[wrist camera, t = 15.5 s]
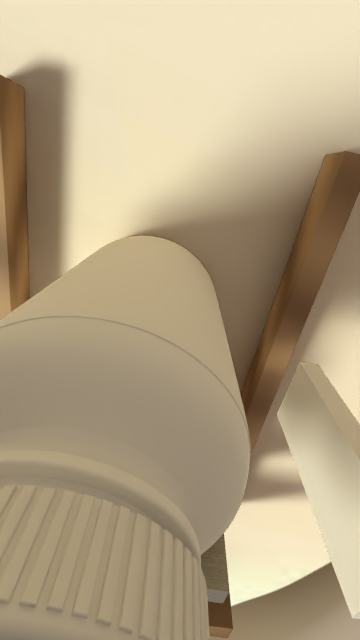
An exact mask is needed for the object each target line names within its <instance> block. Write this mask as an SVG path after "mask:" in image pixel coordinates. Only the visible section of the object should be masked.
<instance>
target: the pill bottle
mask: <svg viewBox="0 0 360 640" xmlns="http://www.w3.org/2000/svg"><path fill="white" fill-rule="evenodd" d="M250 457H251V446H250V437H249V430H248V425H247V420H246V415H245V411H244V407H243V403H242V399H241V395H240V390H239V386H238V382H237V378H236V374H235V370H234V366H233V361H232V357H231V353H230V349H229V345H228V341H227V337H226V333H225V328H224V324H223V320H222V316H221V312H220V308H219V304H218V299H217V295H216V291H215V288H214V285H213V282H212V280H211V278H210V276H209V274H208V273H207V271H206V270H205V268H204V267H203V265H202V264H201V263H200V261H199V260H198V259H197V258H196V257H195V256H194V255H193V254H191V253H190V252H189V251H188V250H186V249H185V248H183V247H182V246H180V245H178V244H176V243H174V242H172V241H169V240H167V239H163V238H159V237H154V236H132V237H127V238H123V239H119V240H116V241H114V242H111V243H109V244H107V245H105V246H104V247H102V248H101V249H99V250H98V251H96V252H95V253H93V254H92V255H91V256H89V257H88V258H86V259H85V260H84V261H82V262H81V263H79V264H78V265H77V266H75V267H74V268H72V269H71V270H70V271H68V272H67V273H65V274H64V275H63V276H61V277H60V278H58V279H57V280H56V281H54V282H53V283H51V284H50V285H49V286H47V287H46V288H44V289H43V290H41V291H40V292H39V293H37V294H36V295H34V296H33V297H32V298H30V299H29V300H27V301H26V302H25V303H23V304H22V305H20V306H19V307H18V308H16V309H15V310H13V311H12V312H11V313H9V314H8V315H6V316H5V317H4V318H2V319H1V320H0V640H210V635H209V616H208V598H207V586H206V580H205V577H204V575H203V571H202V569H201V554H203V553H204V552H205V551H206V550H208V549H209V548H210V547H211V546H212V545H213V544H214V543H215V542H216V541H217V540H218V539H219V538H220V537H221V536H222V535H223V533H224V532H225V531H226V529H227V528H228V527H229V525H230V524H231V522H232V521H233V519H234V517H235V515H236V513H237V511H238V509H239V507H240V505H241V502H242V499H243V496H244V493H245V489H246V485H247V480H248V474H249V466H250Z"/></svg>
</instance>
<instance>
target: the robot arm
mask: <svg viewBox="0 0 360 640" xmlns="http://www.w3.org/2000/svg"><path fill="white" fill-rule="evenodd" d="M277 416H278V419H279V421H280V424H281V427H282V429H283V432H284V435H285V438H286V440H287V443H288V446H289V448H290V451H291V454H292V456H293V459H294V462H295V465H296V467H297V470H298V473H299V475H300V478H301V481H302V483H303V486H304V489H305V491H306V494H307V497H308V500H309V502H310V505H311V508H312V510H313V513H314V516H315V518H316V521H317V524H318V527H319V529H320V532H321V535H322V537H323V540H324V543H325V545H326V548H327V551H328V554H329V556H330V559H331V562H332V564H333V567H334V570H335V572H336V575H337V578H338V580H339V583H340V586H341V589H342V591H343V594H344V596H345V599H346V602H347V605H348V607H349V610H350V613H351V615H352V618H355V619H360V424H359V423H358V421H357V420H356V418H355V417H354V416H353V414H352V413H351V411H350V410H349V408H348V407H347V405H346V404H345V403H344V401H343V400H342V398H341V397H340V395H339V394H338V393H337V391H336V390H335V388H334V387H333V385H332V384H331V382H330V381H329V380H328V378H327V377H326V375H325V374H324V372H323V371H322V369H321V368H320V367H319V365H316V364H311V363H305V362H299V364H298V366H297V369H296V371H295V373H294V376H293V378H292V380H291V383H290V385H289V387H288V390H287V392H286V394H285V397H284V399H283V401H282V403H281V406H280V408H279V410H278V413H277Z"/></svg>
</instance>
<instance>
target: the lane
mask: <svg viewBox="0 0 360 640" xmlns="http://www.w3.org/2000/svg"><path fill="white" fill-rule="evenodd" d="M359 191H360V154H355V153H351V152H346V151H345V152H339V153H334V154H329V155H325V158H324V161H323V164H322V166H321V169H320V172H319V175H318V178H317V181H316V183H315V186H314V189H313V192H312V195H311V198H310V200H309V203H308V206H307V209H306V212H305V215H304V217H303V220H302V223H301V226H300V229H299V232H298V234H297V237H296V240H295V243H294V246H293V249H292V251H291V254H290V257H289V260H288V263H287V266H286V269H285V271H284V274H283V277H282V280H281V283H280V286H279V288H278V291H277V294H276V297H275V300H274V303H273V305H272V308H271V311H270V314H269V317H268V320H267V322H266V325H265V328H264V331H263V334H262V337H261V339H260V342H259V345H258V348H257V351H256V354H255V357H254V359H253V362H252V365H251V368H250V371H249V374H248V376H247V379H246V382H245V385H244V388H243V391H242V393H241V399H242V403H243V407H244V411H245V415H246V420H247V425H248V430H249V437H250V446H251V452H252V450H253V447H254V445H255V442H256V440H257V438H258V435H259V433H260V430H261V428H262V426H263V423H264V421H265V418H266V416H267V413H268V411H269V409H270V406H271V404H272V401H273V399H274V397H275V394H276V392H277V389H278V387H279V384H280V382H281V380H282V377H283V375H284V372H285V370H286V368H287V365H288V363H289V360H290V358H291V356H292V353H293V351H294V348H295V346H296V343H297V341H298V339H299V336H300V334H301V331H302V329H303V327H304V324H305V322H306V319H307V317H308V314H309V312H310V310H311V307H312V305H313V302H314V300H315V298H316V295H317V293H318V290H319V288H320V286H321V283H322V281H323V278H324V276H325V273H326V271H327V269H328V266H329V264H330V261H331V259H332V257H333V254H334V252H335V249H336V247H337V244H338V242H339V240H340V237H341V235H342V232H343V230H344V228H345V225H346V223H347V220H348V218H349V216H350V213H351V211H352V208H353V206H354V203H355V201H356V199H357V196H358V194H359ZM27 300H29V263H28V225H27V187H26V149H25V111H24V88H23V87H21V86H20V85H18V84H16V83H14V82H12V81H11V80H9V79H7V78H5V77H3V76H2V75H0V320H1V319H2V318H4V317H5V316H6V315H8V314H9V313H11V312H12V311H13V310H15V309H16V308H18V307H19V306H20V305H22V304H23V303H25V302H26V301H27ZM224 544H225V541H224ZM225 555H226V551H225ZM226 565H227V562H226ZM227 576H228V572H227ZM228 586H229V583H228ZM208 616H209V635H210V636H215V637H222V638H228V637H229V635H230V633H231V631H232V630H233V625H232V615H231V604H230V593H228V595H227V597H226V599H225V601H224V602H223V603H216V602H209V601H208Z"/></svg>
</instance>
